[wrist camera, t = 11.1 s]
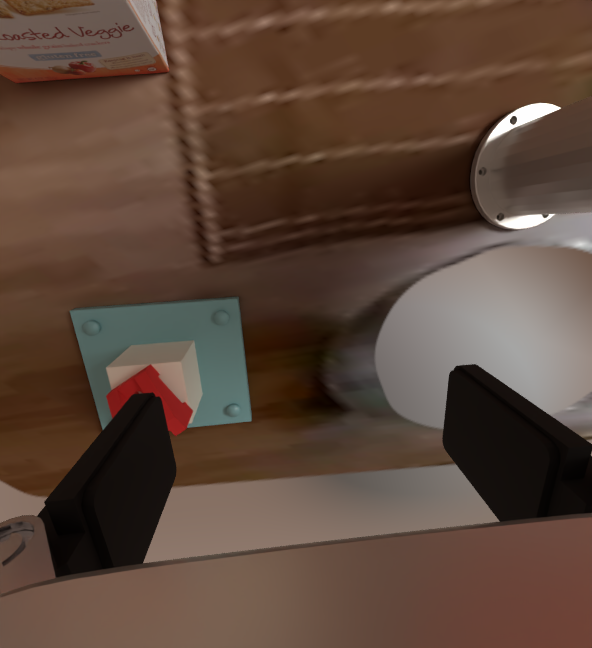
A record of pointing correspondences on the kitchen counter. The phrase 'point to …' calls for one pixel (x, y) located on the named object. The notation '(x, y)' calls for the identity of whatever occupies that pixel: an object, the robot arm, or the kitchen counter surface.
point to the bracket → (149, 383)
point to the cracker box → (79, 39)
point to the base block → (162, 368)
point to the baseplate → (172, 326)
